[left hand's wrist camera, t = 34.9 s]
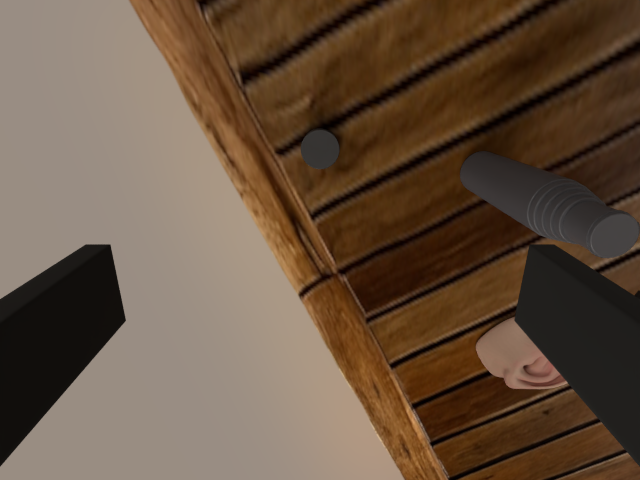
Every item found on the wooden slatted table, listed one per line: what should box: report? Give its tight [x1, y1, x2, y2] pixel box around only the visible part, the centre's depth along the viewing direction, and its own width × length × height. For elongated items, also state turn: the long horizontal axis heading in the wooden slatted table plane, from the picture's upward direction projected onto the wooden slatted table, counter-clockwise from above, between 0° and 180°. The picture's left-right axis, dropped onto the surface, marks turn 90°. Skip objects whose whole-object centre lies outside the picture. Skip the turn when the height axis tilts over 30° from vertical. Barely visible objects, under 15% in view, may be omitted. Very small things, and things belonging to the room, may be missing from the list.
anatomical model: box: [476, 317, 567, 389], centre depth 53 cm, size 13×4×12 cm
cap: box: [301, 128, 339, 169], centre depth 44 cm, size 4×4×2 cm
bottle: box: [460, 151, 640, 258], centre depth 36 cm, size 5×5×23 cm
